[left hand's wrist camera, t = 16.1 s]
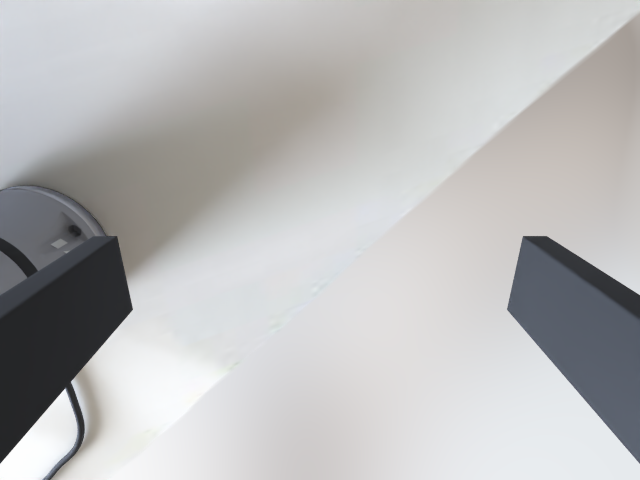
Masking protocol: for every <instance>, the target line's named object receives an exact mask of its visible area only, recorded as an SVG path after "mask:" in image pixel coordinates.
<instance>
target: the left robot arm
mask: <svg viewBox="0 0 640 480" xmlns="http://www.w3.org/2000/svg"><path fill="white" fill-rule="evenodd" d="M132 310H133V308H132V303H131V299H130V294H129V290H128V285H127V280H126V276H125V271H124V266H123V262H122V257H121V253H120V248H119V243H118V239H117V236H106V235H105V233H104V231H103V230H102V228H101V227H100V225H99V224H98V222H97V221H96V220H95V219H94V218H93V216H92V215H91V214H90V213H89V212H88V211H87V210H86V209H84V208H83V207H82V206H81V205H79V204H78V203H77V202H75V201H74V200H72V199H70V198H69V197H67V196H65V195H63V194H61V193H59V192H56V191H53V190H50V189H47V188H43V187H38V186H15V187H10V188H7V189H3V190H0V463H1V462H2V461H3V460H4V459H5V457H6V456H7V455H8V454H9V453H10V452H11V450H12V449H13V448H14V447H15V446H16V445H17V443H18V442H19V441H20V440H21V439H22V438H23V437H24V435H25V434H26V433H27V432H28V431H29V430H30V428H31V427H32V426H33V425H34V424H35V423H36V421H37V420H38V419H39V418H40V417H41V416H42V414H43V413H44V412H45V411H46V410H47V409H48V407H49V406H50V405H51V404H52V403H53V402H54V401H55V399H56V398H57V397H58V396H59V395H60V394H61V392H62V391H63V390H64V389H66V391H67V394H68V397H69V399H70V402H71V405H72V408H73V411H74V414H75V417H76V421H77V426H78V434H77V439H76V443H75V445H74V447H73V448H72V450H71V451H70V452H69V453H68V454H67V455H66V456H65V457H64V458H62V459H61V460H60V461H59V462H58V463H57V464H56V465H55V466H54V467H53V469H52V470H51V471H50V472H49V474H48V475H47V476H46V477H45V478H44V479H43V480H51V478H52V477H53V476H54V475H55V474H56V472H57V471H58V470H59V469H60V468H61V467H62V466H63V465H64V464H65V463H66V462H67V461H69V460H70V459H71V458H72V457H73V456H74V455H75V454H76V452H77V451H78V449H79V448H80V446H81V444H82V441H83V438H84V430H85V428H84V420H83V416H82V412H81V409H80V406H79V403H78V400H77V397H76V394H75V391H74V389H73V386H72V384H71V381H72V380H73V378H74V377H75V376H76V375H77V374H78V373H79V372H80V370H81V369H82V368H83V367H84V366H85V365H86V363H87V362H88V361H89V360H90V359H91V358H92V356H93V355H94V354H95V353H96V352H97V351H98V349H99V348H100V347H101V346H102V345H103V344H104V343H105V341H106V340H107V339H108V338H109V337H110V336H111V334H112V333H113V332H114V331H115V330H116V329H117V327H118V326H119V325H120V324H121V323H122V322H123V320H124V319H125V318H126V317H127V316H128V315H129V313H130V312H131V311H132ZM507 310H508V311H509V312H510V313H511V315H512V316H513V317H514V318H515V319H516V320H517V322H518V323H519V324H520V325H521V326H522V327H523V329H524V330H525V331H526V332H527V333H528V334H529V336H530V337H531V338H532V339H533V340H534V341H535V343H536V344H537V345H538V346H539V347H540V348H541V349H542V351H543V352H544V353H545V354H546V355H547V356H548V358H549V359H550V360H551V361H552V362H553V363H554V365H555V366H556V367H557V368H558V369H559V370H560V371H561V373H562V374H563V375H564V376H565V377H566V378H567V380H568V381H569V382H570V383H571V384H572V385H573V386H574V388H575V389H576V390H577V391H578V392H579V394H580V395H581V396H582V397H583V398H584V399H585V401H586V402H587V403H588V404H589V405H590V406H591V407H592V409H593V410H594V411H595V412H596V413H597V414H598V416H599V417H600V418H601V419H602V420H603V421H604V423H605V424H606V425H607V426H608V427H609V428H610V429H611V431H612V432H613V433H614V434H615V435H616V436H617V438H618V439H619V440H620V441H621V442H622V443H623V445H624V446H625V447H626V448H627V449H628V450H629V451H630V453H631V454H632V455H633V456H634V457H635V459H636V460H637V461H638V462H639V463H640V295H639V294H637V293H635V292H634V291H632V290H631V289H629V288H627V287H626V286H624V285H623V284H621V283H620V282H618V281H616V280H615V279H613V278H612V277H610V276H609V275H607V274H605V273H604V272H602V271H601V270H599V269H597V268H596V267H594V266H593V265H591V264H590V263H588V262H587V261H585V260H583V259H582V258H580V257H579V256H577V255H576V254H574V253H572V252H571V251H569V250H568V249H566V248H564V247H563V246H561V245H560V244H558V243H557V242H555V241H553V240H552V239H550V238H549V237H547V236H523V239H522V243H521V248H520V253H519V257H518V262H517V266H516V271H515V276H514V280H513V285H512V290H511V294H510V299H509V304H508V308H507Z"/></svg>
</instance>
